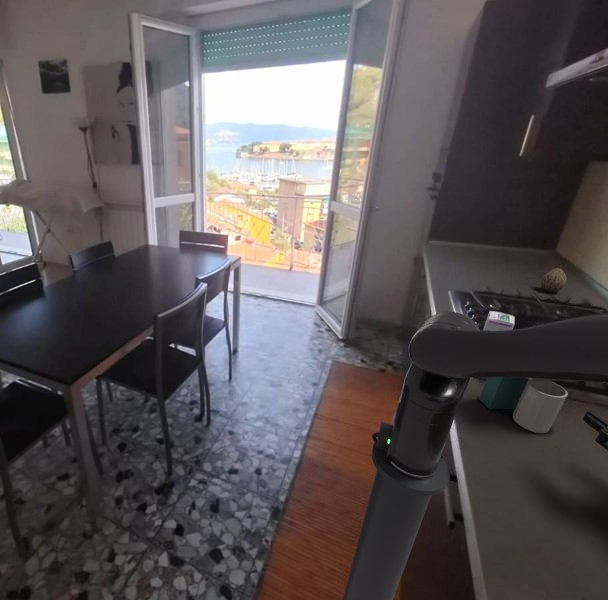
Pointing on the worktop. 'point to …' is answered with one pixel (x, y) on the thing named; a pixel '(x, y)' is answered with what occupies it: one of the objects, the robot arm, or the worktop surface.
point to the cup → (539, 405)
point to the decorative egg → (553, 280)
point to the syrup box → (499, 322)
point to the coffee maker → (504, 391)
